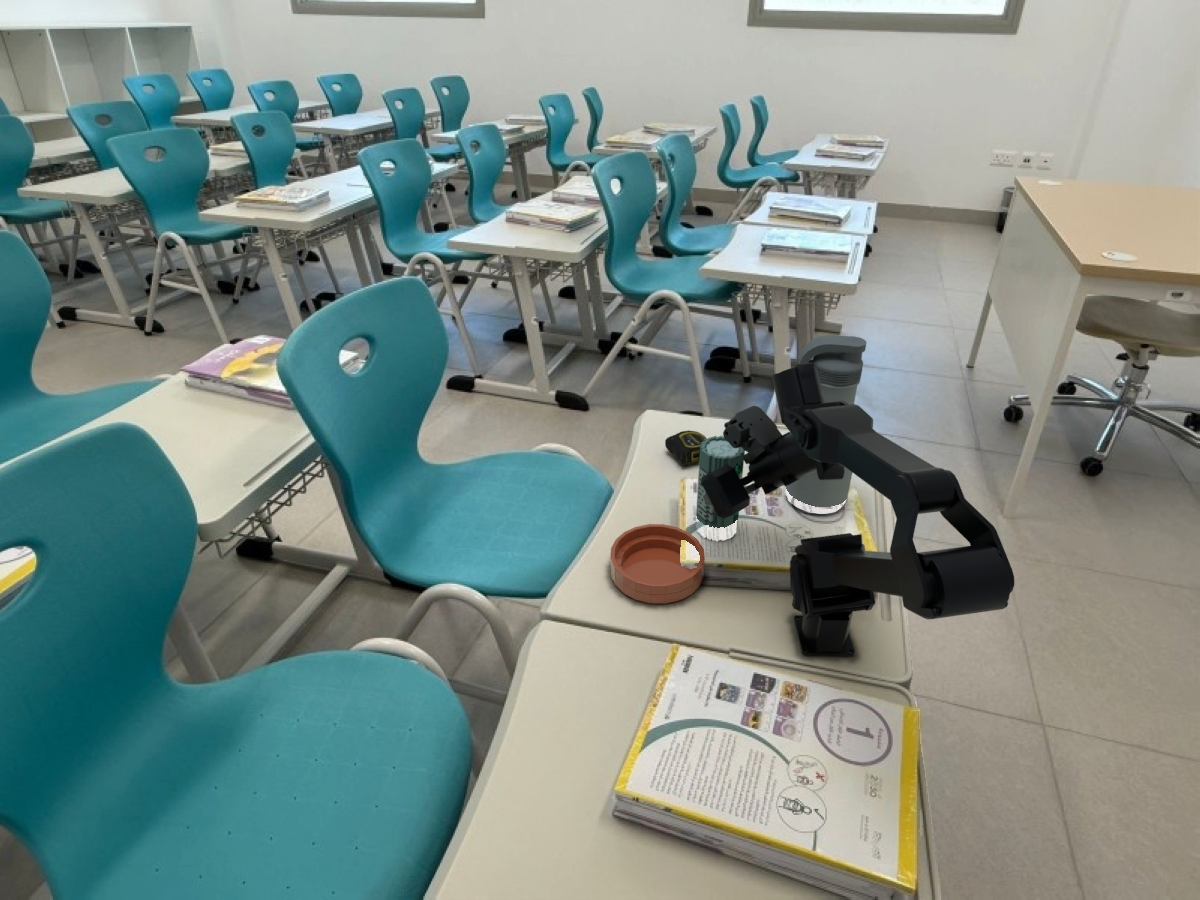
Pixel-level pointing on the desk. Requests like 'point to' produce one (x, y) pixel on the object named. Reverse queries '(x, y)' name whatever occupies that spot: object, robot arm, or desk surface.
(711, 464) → the can
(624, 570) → the bowl
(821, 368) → the water bottle
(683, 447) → the tape measure
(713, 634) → the desk surface
